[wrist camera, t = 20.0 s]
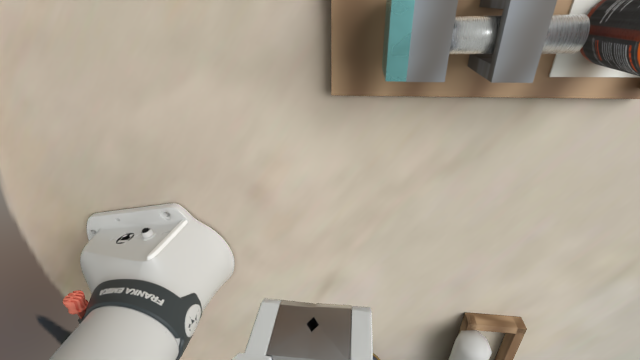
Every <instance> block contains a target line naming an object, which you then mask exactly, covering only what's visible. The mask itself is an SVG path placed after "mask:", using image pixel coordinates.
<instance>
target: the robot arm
mask: <svg viewBox="0 0 640 360" xmlns="http://www.w3.org/2000/svg"><path fill="white" fill-rule="evenodd" d="M167 212H168V213H169V214H168V213H167ZM87 235H88V240H89V242H88V243H87V244H86V246H85V247H84V249H83V250H82V253H81V257H80V264H81V269H82V273H83V275H84V278H85V280H86V282H87V285H88V287H89V289H90V291H91V293H92V296H91V298H90V301H89V303H88V301H87V300H86V299H85V295H84V293H83V292H82V291H80V290H79V291H73V293H69V294H68V296H65V298H64V299H63V301H64V302H63V304H64V305H65V306H66V307H67V308H68V312H69V313H70V314H78V316H79V320H78V321H79V323H80V325H79V326H78V327H77V328H76V329H75V330H74V331H73V333H72V334H71V335H70V336H69V337H68V338H67V339H66V341H65V342H64V343H63V344H62V345H61V346H60V348H59V349H58V350H57V351H56V352H55V353H54V354H53V356H52V357H51V358H50V359H49V360H179V359H180V357H181V356H182V354H183V352H184V350H185V349H186V347H187V345H188V343H189V341H190V339H191V337H192V335H193V333H194V331H195V329H196V327H197V325H198V323H199V320H200V318H201V315H202V312H203V310H204V309H205V307H206V306H207V304H208V303H209V302H210V300H211V299H212V297H213V296H214V295H215V293H216V292H217V291H218V290H219V289H220V287H221V286H222V285H223V284H224V283H225V282H226V281H227V280H228V279H229V278H230V277H231V275H232V273H233V271H234V257H233V254H232V251H231V249H230V247H229V246H228V244H227V243H226V242H225V240H224V239H223V238H222V237H221V236H220V235H219V234H218V233H217V232H215V231H214V230H213V229H211V228H210V227H208V226H207V225H205V224H203V223H201V222H199V221H198V220H196V219H195V218H193V217H192V215H191V214H190V213H189V212H188V211H187V210H186V209H185V208H183V207H182V206H181V205H179V204H176V203H170V204H162V205H154V206H146V207H139V208H131V209H123V210H115V211H108V212H100V213H94V214H92V215H91V216H90V217H89V219H88V221H87ZM351 317H352V318H351ZM232 360H373V349H372V311H371V308H370V307H358V306H351V305H336V304H322V303H317V304H313V303H304V302H296V301H287V300H277V299H266V298H264V300H263V301H262V303H261V305H260V308H259V311H258V314H257V317H256V320H255V323H254V326H253V329H252V332H251V335H250V338H249V341H248V344H247V347H246V350H245V353H238V354H237V355H236V356H235V357H234V358H233V359H232Z"/></svg>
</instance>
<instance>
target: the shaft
mask: <svg viewBox="0 0 640 360" xmlns="http://www.w3.org/2000/svg"><path fill="white" fill-rule="evenodd" d="M414 4H415V0H387V1H386V15H385V29H384V43H383V57H382V70H383V74H384V78H385V81H395V82H406V78H407V69H408V59H409V50H410V41H411V32H412V23H413V13H414ZM501 17H502V16H455V22H454V28H453V34H452V40H451V46H450V52H449V54H493V52H494V47H495V43H496V39H497V34H498V30H499V26H500V21H501ZM589 31H590V20H589V17H588V16H587V15H585V14H572V15H553V16H552V20H551V23H550V26H549V30H548V33H547V36H546V40H545V43H544V47H543V50H542V53H541V54H574V53H576V52H578V51H579V50H580V49H581V48H582V47H583V45H584V44H585V42H586V40H587V38H588V35H589Z"/></svg>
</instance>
